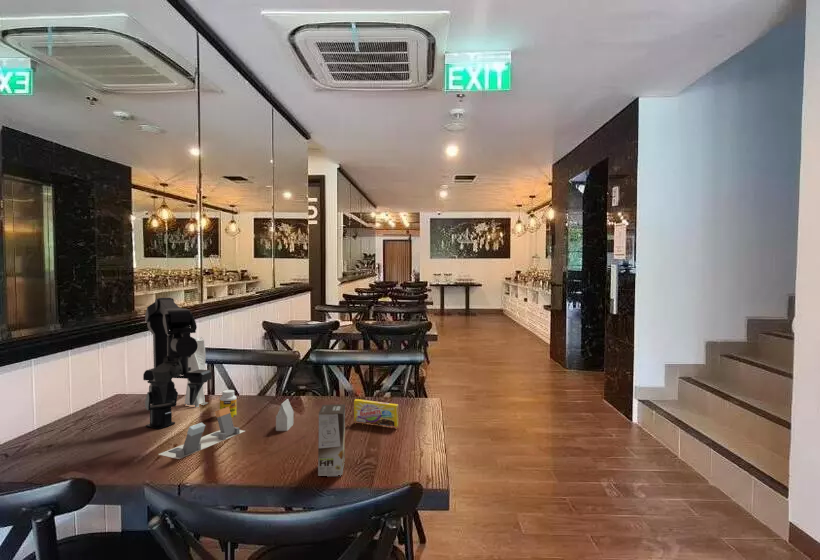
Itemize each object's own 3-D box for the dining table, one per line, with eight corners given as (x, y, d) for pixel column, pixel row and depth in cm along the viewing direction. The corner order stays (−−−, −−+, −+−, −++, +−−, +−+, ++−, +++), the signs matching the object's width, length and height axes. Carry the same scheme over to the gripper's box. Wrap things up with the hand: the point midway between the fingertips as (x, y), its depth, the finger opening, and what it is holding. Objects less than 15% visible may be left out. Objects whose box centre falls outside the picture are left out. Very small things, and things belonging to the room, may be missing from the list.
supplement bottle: (221, 423, 160) (221, 393, 160) (218, 419, 164) (218, 390, 164) (238, 420, 163) (238, 391, 163) (234, 416, 168) (234, 388, 167)
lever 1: (180, 452, 127) (189, 426, 126) (193, 447, 131) (201, 422, 130) (184, 455, 127) (193, 429, 125) (197, 450, 130) (205, 425, 129)
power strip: (157, 459, 128) (157, 447, 128) (226, 432, 151) (226, 422, 151) (179, 464, 125) (179, 452, 125) (245, 435, 148) (245, 425, 148)
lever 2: (221, 437, 141) (214, 411, 142) (231, 433, 145) (225, 407, 146) (225, 436, 140) (218, 410, 142) (235, 432, 144) (228, 406, 145)
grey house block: (293, 428, 155) (293, 398, 155) (287, 435, 148) (287, 404, 148) (282, 428, 155) (282, 398, 155) (275, 435, 148) (276, 404, 148)
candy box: (353, 423, 161) (353, 400, 161) (356, 422, 163) (356, 398, 163) (396, 430, 155) (396, 405, 155) (398, 428, 157) (398, 403, 157)
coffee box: (343, 476, 118) (343, 413, 118) (317, 477, 118) (318, 413, 118) (345, 462, 127) (345, 403, 127) (321, 462, 127) (321, 404, 127)
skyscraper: (178, 407, 180) (178, 334, 180) (191, 401, 188) (191, 332, 188) (197, 408, 179) (198, 335, 178) (210, 402, 187) (210, 333, 186)
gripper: (129, 355, 132) (129, 409, 132) (190, 357, 130) (189, 413, 130) (156, 348, 143) (155, 399, 143) (212, 351, 141) (212, 402, 141)
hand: (177, 403), depth 139 cm, fingers open, 9 cm apart
